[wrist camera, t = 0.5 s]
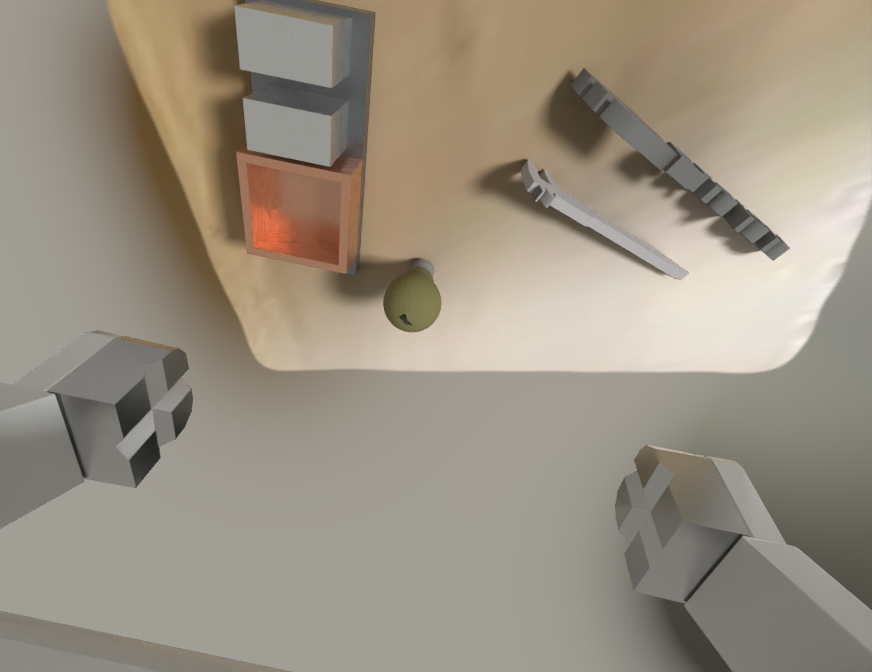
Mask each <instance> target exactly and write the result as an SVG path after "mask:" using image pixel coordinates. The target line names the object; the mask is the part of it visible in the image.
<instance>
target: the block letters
mask: <svg viewBox="0 0 872 672" xmlns="http://www.w3.org/2000/svg"><path fill="white" fill-rule="evenodd" d="M570 87H571V88H572V89H573V90H574V91H575V92H576V93H577V94H578V95H579V96H580V97H581V98H582V100H583V101H584V102H585V103H586V104H587V105H588V106H589V107H590V108H591V109H592V110H593V111H594V112H595V113H597V114H598V115H599V117H600V118H601V119H602V120H603V121H604V122H605V123H606V124H607V125H608V126H609V127H610V128H612V129H613V130H614V131H615V132H616V133H617V134H618V135H619V136H620V137H622V138H623V139H624V140H625V141H626V142H628V143H629V144H630V145H631V146H632V147H634V148H635V149H636V150H637V151H638V152H640V153H641V154H642V155H643V156H644V157H646V158H647V159H648V160H649V161H650V162H651V163H653V164H654V165H655V166H656V167H657V168H658V169H659V170H660V171H661V170H662V169H664V170H665V171H666V173H668V174H669V175H670V176H671V177H672V178H674V179H675V180H676V181H677V182H678V183H679V184H681V185H682V186H683V187H684V188H685V189H689V190H690V191H691V192H694V193H695V194H696V195H697V196H698V197H699V198H700V199H701V200H702V201H703V202H704V203H706V204H708V205H709V206H710V207H711V208H712V209H713V210H714V211H715V212H716V213H717V214H718V215H720V216H721V217H722V216H724V218H725V219H726V220H727V221H728V223H729V224H730V225H731V226H732V228H733V229H734V230H735V231H736V232H738V233H739V232H740V233H741V234H742V235H744V236H745V237H746V238H747V239H748V240H749V241H750V242H752V243H755V244H756V245H757V246H758V248H759V249H760V250H761V251H762V252H763V253H765V254H766V255H767V256H768V257H769V258H770V259H772V260H773V261H774V260H775V259H776V258H778V257H779V256H780V255H782V254H783V253H785V252H786V251H787V250H789V249H790V248H789V247H788V246H787V244H786V243H785V242H784V241H783V240H782V239H781V238H780V237H779V236H778V235H775V234H774V233H773V232H772V231H771V230H770V229H769V228H768V227H767V226H766V225H764V224H763V223H762V222H761V221H760V220H759V219H758V218H757V217H756V216H755V215H754V214H752V213H751V212H750V211H749V210H746V209H745V208H744V206H743V205H742V204H741V203H740V202H739V201H737V200H735V199H734V198H733V197H732V196H731V195H730V194H729V193H728V192H727V191H726V190H725V189H724V188H723V187H721V186H720V185H719V184H718V183H717V182H716V183H715V182H714V181H713V180H712V179H711V177H710V176H709V175H708V174H706V173H705V172H704V171H703V170H702V169H701V168H700V167H698V166H697V165H696V164H695V163H692V162H691V160H690V159H689V158H688V157H687V156H686V155H685V154H683V153H682V152H681V151H680V150H679V149H678V148H677V147H675V146H674V145H673V144H672V143H671V142H670V143H669V144H668V145H667V144H666V143H665V142H664V141H663V140H662V139H661V138H660V137H659V136H658V135H657V134H656V133H655V132H654V131H653V130H652V129H651V128H650V127H649V126H648V125H647V124H646V123H644V121H643V120H642V119H641V118H640V117H639V116H638V115H637V114H636V113H634V112H633V111H632V110H631V109H630V108H629V107H628V106H627V105H626V104H624V103H623V102H622V101H621V100H620V99H619V98H618V97H616V96H615V95H614V94H613V93H612V92H611V91H610V90H608V89H607V88H606V87H605V86H604V85H603V84H601V83H600V82H599V81H598V80H597V79H596V78H595V77H593V76H592V75H591V74H590V73H589V72H588V71H587V70H586V69H585V68H584V69H583V70H582V71H581V72H580V74H579V75H578V76H577V77H576V79H575V80H574V81H573V83H572V84H571V85H570Z"/></svg>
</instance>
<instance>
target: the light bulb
mask: <svg viewBox="0 0 872 672" xmlns="http://www.w3.org/2000/svg"><path fill="white" fill-rule="evenodd" d="M433 273H434V268H433V265H432V264H431V263H430V262H429V261H427V260H423V259H421V260H417V261H415V262H414V263H413V265H412V267H411V270H409V271H408V272H407V273H406V274H404V275H402V276H400V277H398V278H396V279H395V280H394V281H393V282H392V283H391V284H390V285H389V287H388V288H387V290H386V292H385V295H384V302H383V305H384V311H385V314H386V316H387V318H388V319H389V321H390V322H391V323H392V324H393V325H394V326H395V327H396V328H398V329H400V330H403V331H406V332H419V331H422V330H424V329H426V328H428V327H429V326H431V325H432V324H433V323H434V322H435V320H436V319H437V317H438V315H439V313H440V310H441V296H440V293H439V290H438V288H437V286H436V285H435V284H434V281H433Z"/></svg>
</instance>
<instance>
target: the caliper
mask: <svg viewBox="0 0 872 672" xmlns="http://www.w3.org/2000/svg"><path fill="white" fill-rule="evenodd" d="M521 178H522V181H523V183H524V186H525V188H526V190H527V191H528V192H529V193H531V194H532V195H533V197H534V199H535V201H536V202H537V201H538V200H539V199H540V201H541V202H542V203H543V205H544V206H545V207H546V208H548V207H549V205H550V206H552V207H554V208H555V209H557V210H559V211H560V212H562V213H564V214H565V215H567V216H569V217H570V218H572V219H574V220H576V221H577V222H579V223H581V224H582V225H584V226H586V227H587V226H589V227H590V228H592V229H594V230H595V231H597V232H598V233H600V234H602V235H603V236H605V237H607V238H608V239H610V240H612V241H613V242H615V243H617V244H618V245H620V246H622V247H623V248H625V249H627V250H628V251H630V252H632V253H633V254H635V255H637V256H638V257H640V258H641V259H643V260H645V261H646V262H648V263H650V264H651V265H653V266H655V267H656V268H658V269H660V270H661V271H663V272H665V273H666V274H668V275H670V276H671V277H673V278H675V279H676V278H678V279H679V280H682V279H683V278H684V277H685V276H687V275H688V274H689V272H688V271H686V270H685V269H683V268H681V267H680V266H679V265H678V264H676V263H675V262H674V261H672V260H671V259H669V258H668V257H666V256H665V255H663V254H662V253H660V252H658V251H657V250H655V249H653V248H652V247H650V246H649V245H647V244H645V243H644V242H642V241H641V240H639V239H637V238H636V237H634V236H633V235H631V234H629V233H628V232H626V231H625V230H623V229H621V228H620V227H618V226H617V225H615V224H613V223H612V222H610V221H609V220H607V219H605V218H604V217H602V216H601V215H599V214H597V213H596V212H594V211H593V210H591V209H589V208H588V206H587V204H586V203H585V202H583V201H581V200H579V199H577V198H576V197H575V196H573V195H571V194H569V193H567V192H564V191H563V190H561V189H560V188H559V186H558V185H557V184H556V182H555V181H554V180H553V178H552V177H551V176H550V174H549V173H548V172H547V171H546V170H544V169H543V170H542V171H541V172H540V174H538V172H537V170H536V168H535V166H534V164H533V162H532V161H531V160H529V159H528V160H527V161H526V163H525V164H524V165H523V167H522V168H521Z"/></svg>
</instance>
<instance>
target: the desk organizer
mask: <svg viewBox="0 0 872 672" xmlns="http://www.w3.org/2000/svg"><path fill="white" fill-rule="evenodd" d="M234 8H235V19H236V30H237V41H238V52H239V63H240V69H241V70H246V71H250V73H251V85H252V93H251V94H249V95H247V96H245V97H243V107H244V118H245V129H246V140H247V144H246V145H245V146H244V147H242V148H241V149H239V150H238V151H237V152H236V156H237V165H238V174H239V184H240V193H241V203H242V212H243V221H244V231H245V240H246V250H247V254H252V255H257V256H261V257H266V258H271V259H276V260H281V261H286V262H291V263H295V264H300V265H305V266H310V267H315V268H320V269H325V270H330V271H334V272H339V273H344V274H349V275H354V276H356V274H357V272H358V270H359V260H360V244H361V228H362V213H363V197H364V182H365V166H366V151H367V135H368V120H369V104H370V89H371V73H372V57H373V42H374V26H375V12H371V11H366V10H361V9H356V8H351V7H346V6H341V5H337V4H332V3H327V2H322V1H317V0H245V4H240V5H235V6H234Z"/></svg>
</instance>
